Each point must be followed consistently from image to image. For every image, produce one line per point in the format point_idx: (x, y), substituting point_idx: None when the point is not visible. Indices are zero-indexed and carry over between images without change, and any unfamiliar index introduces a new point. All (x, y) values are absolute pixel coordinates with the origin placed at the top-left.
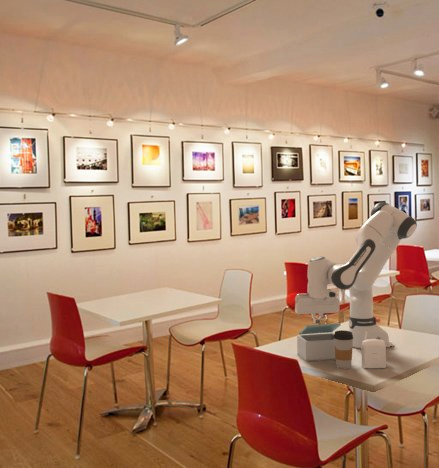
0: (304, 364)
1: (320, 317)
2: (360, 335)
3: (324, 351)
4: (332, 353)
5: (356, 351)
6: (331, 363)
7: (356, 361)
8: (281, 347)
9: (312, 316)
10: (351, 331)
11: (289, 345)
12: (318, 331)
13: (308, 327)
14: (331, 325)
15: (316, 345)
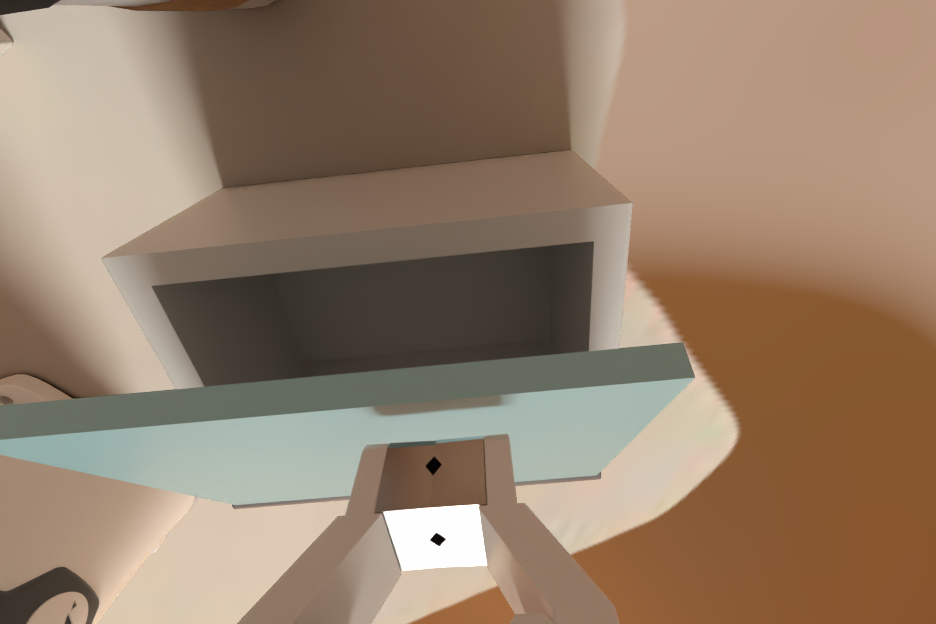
0: (613, 64)
1: (342, 568)
2: (19, 490)
3: (387, 189)
4: (309, 191)
5: (122, 354)
6: (350, 59)
7: (100, 92)
8: (618, 470)
9: (595, 606)
10: (94, 550)
11: (556, 495)
12: None
13: (635, 356)
14: (155, 396)
15: (476, 201)
